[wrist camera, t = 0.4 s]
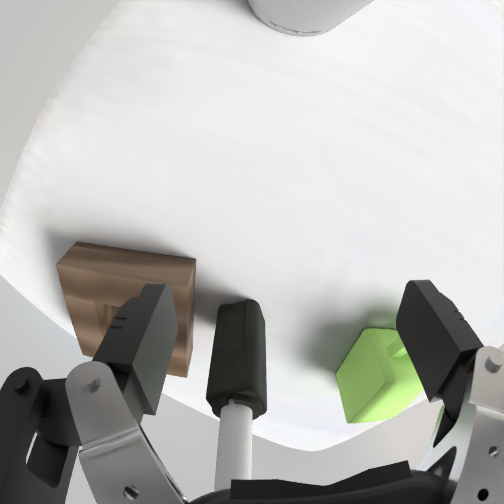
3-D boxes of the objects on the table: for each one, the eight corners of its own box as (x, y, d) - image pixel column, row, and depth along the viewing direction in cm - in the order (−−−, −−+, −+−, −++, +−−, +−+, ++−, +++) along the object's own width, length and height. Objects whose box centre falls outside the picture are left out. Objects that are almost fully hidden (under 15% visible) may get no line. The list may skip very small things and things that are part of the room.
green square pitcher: (374, 387, 46) (387, 432, 38) (324, 388, 45) (334, 438, 37) (428, 314, 37) (455, 364, 29) (373, 310, 36) (398, 368, 28)
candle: (256, 297, 35) (255, 523, 14) (267, 327, 38) (271, 529, 16) (215, 305, 36) (185, 520, 14) (228, 334, 38) (211, 528, 17)
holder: (76, 241, 32) (56, 264, 27) (196, 259, 33) (187, 287, 28) (95, 330, 39) (83, 354, 35) (192, 349, 40) (186, 377, 36)
